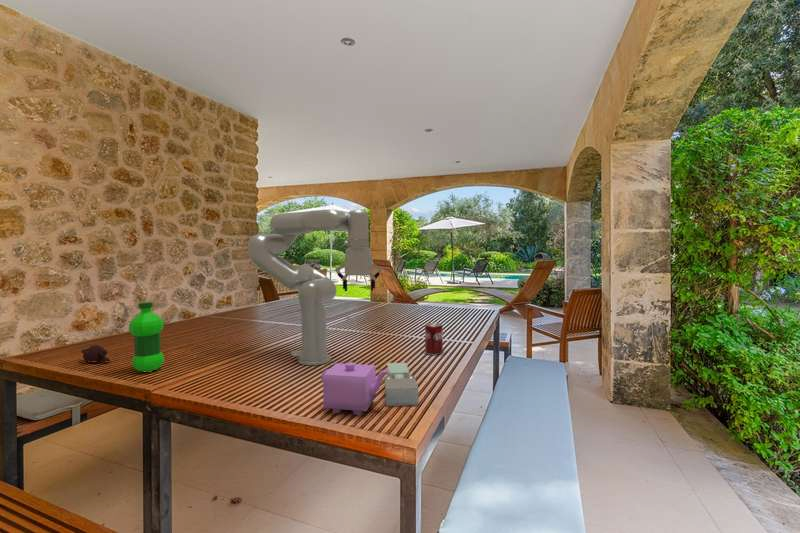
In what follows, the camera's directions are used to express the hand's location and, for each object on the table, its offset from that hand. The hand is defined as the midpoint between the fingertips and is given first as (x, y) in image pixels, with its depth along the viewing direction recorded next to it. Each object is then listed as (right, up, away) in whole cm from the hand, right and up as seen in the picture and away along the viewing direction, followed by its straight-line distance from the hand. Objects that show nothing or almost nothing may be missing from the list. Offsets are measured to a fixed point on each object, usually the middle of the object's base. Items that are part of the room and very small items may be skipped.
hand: (359, 290), depth 143 cm
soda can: (+29, -27, +18) cm, 44 cm away
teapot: (+3, -31, -35) cm, 47 cm away
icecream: (-105, -29, +10) cm, 110 cm away
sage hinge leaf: (+15, -29, -18) cm, 37 cm away
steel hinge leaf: (+15, -30, -28) cm, 44 cm away
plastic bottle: (-77, -29, -2) cm, 82 cm away
